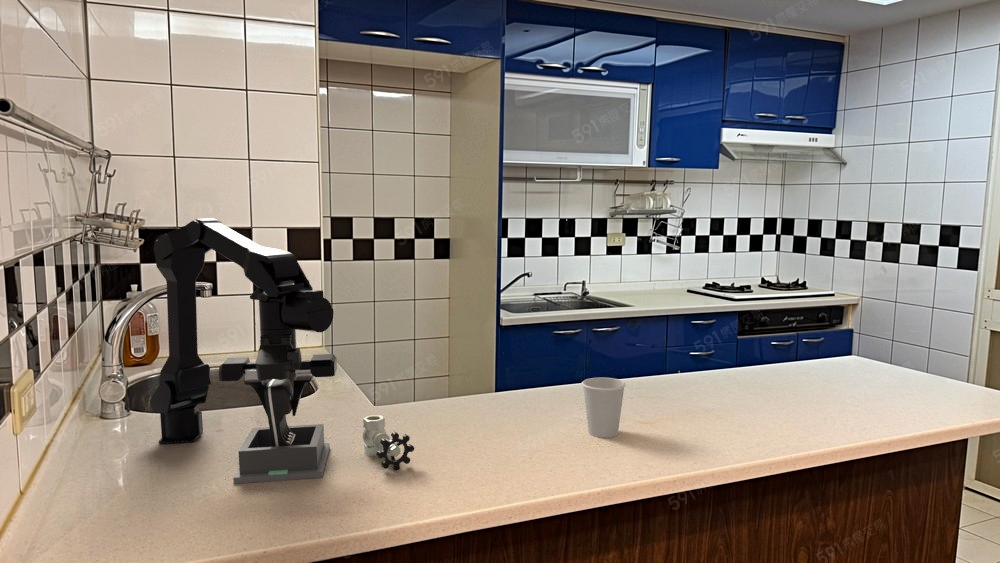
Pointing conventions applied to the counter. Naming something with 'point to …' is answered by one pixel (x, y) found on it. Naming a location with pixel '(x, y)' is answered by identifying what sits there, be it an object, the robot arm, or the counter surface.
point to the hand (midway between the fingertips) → (281, 416)
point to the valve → (384, 442)
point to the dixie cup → (603, 405)
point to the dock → (282, 456)
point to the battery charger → (279, 411)
